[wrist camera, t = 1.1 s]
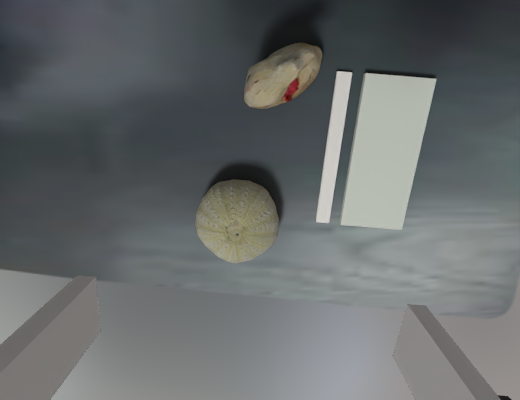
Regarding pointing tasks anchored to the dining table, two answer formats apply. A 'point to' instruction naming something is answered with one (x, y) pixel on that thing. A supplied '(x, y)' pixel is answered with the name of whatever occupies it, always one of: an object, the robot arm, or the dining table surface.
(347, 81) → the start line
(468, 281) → the dining table surface
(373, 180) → the mat
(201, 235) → the sea urchin shell
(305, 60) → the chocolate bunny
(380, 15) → the dining table surface
